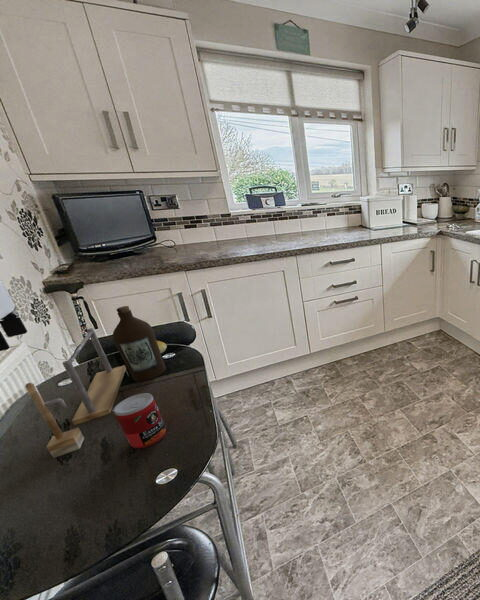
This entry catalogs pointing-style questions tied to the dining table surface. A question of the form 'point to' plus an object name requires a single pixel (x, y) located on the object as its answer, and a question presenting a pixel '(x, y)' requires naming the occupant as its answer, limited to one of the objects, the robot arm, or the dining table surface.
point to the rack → (95, 384)
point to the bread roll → (161, 346)
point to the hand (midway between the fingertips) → (9, 342)
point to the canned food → (140, 420)
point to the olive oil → (138, 346)
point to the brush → (56, 426)
